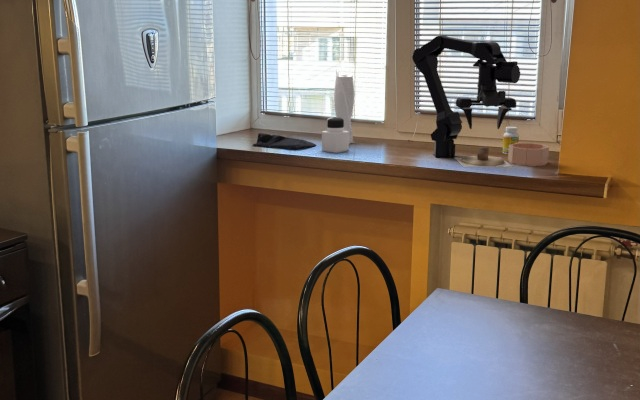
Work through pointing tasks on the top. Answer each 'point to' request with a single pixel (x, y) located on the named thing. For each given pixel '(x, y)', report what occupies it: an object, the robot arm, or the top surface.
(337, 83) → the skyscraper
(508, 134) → the supplement bottle
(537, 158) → the bowl
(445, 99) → the robot arm
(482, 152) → the lid
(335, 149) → the medicine bottle
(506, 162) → the mat
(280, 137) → the crumpled black cloth
